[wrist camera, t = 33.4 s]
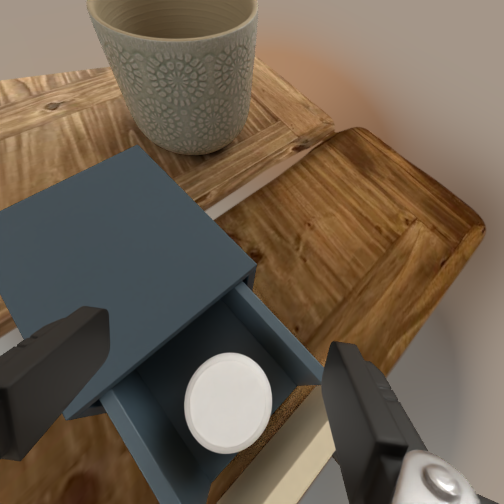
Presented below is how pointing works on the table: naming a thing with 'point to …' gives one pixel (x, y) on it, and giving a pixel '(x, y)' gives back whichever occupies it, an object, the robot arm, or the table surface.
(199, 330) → the drawer
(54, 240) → the cabinet
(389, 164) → the table surface
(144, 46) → the planter
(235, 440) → the supplement bottle
